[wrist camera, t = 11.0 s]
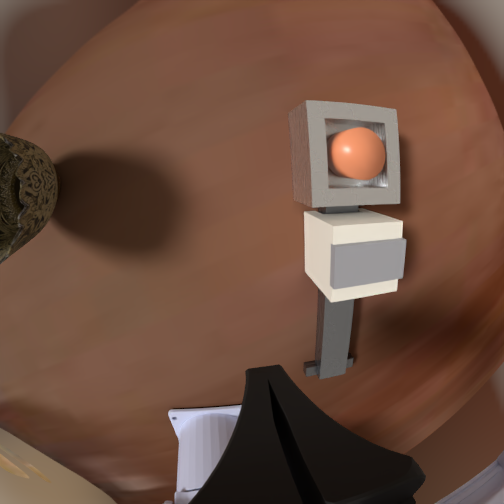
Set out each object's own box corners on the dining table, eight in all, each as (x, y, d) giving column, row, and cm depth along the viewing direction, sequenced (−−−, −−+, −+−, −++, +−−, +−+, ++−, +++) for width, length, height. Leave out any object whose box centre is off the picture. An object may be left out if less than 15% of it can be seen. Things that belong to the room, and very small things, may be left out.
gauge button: (368, 178, 17) (386, 180, 15) (326, 178, 17) (340, 180, 15) (365, 132, 16) (383, 129, 14) (323, 130, 16) (337, 125, 14)
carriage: (361, 264, 21) (400, 292, 16) (304, 271, 21) (332, 305, 15) (362, 208, 20) (407, 222, 14) (303, 211, 19) (335, 227, 14)
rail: (348, 361, 24) (355, 371, 22) (303, 371, 24) (308, 381, 22) (360, 200, 20) (370, 203, 18) (304, 203, 19) (311, 206, 18)
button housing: (369, 198, 20) (399, 206, 16) (293, 202, 19) (312, 210, 15) (365, 117, 18) (396, 109, 14) (288, 113, 17) (306, 100, 14)
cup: (84, 127, 16) (17, 111, 8) (91, 229, 18) (29, 266, 10) (11, 149, 15) (-58, 151, 7) (19, 238, 17) (-45, 271, 10)
